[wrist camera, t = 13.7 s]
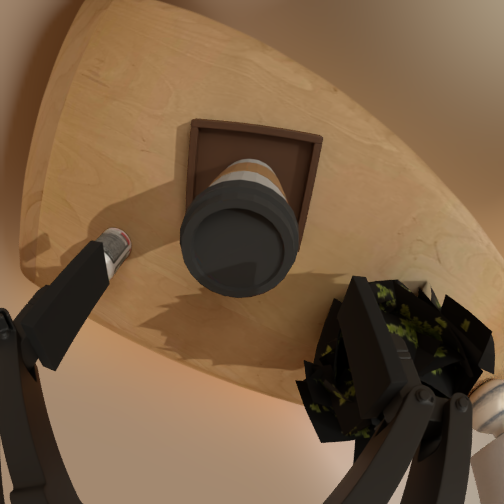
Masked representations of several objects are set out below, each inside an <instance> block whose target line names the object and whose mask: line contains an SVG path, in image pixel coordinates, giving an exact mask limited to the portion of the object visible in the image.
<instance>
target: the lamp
mask: <svg viewBox="0 0 504 504" xmlns="http://www.w3.org/2000/svg"><path fill="white" fill-rule="evenodd" d="M469 399H470V401H471V403H472V407H473V422H472V428H473V429H474V430H476V431H478V432H481V433H487V434H493V435H494V437H495V438H496V439H495V440H493V441H492V442H491V443H489V444H488V445H486V446H485V447H484V448H482V449H481V450H480V451H478V452H477V453H476V454H474V455H473V456H472V457H471V458H470V462H471V466H472V469H473V473H474V477H475V481H476V485H477V489H478V493H479V498H480V502H481V504H504V380H503V379H493V380H490V381H488V382H486V383H484V384H482V385H481V386H480V387H478V388H477V389H476V390H475V391H474V392H473V393H472V394H471V396H470V397H469Z"/></svg>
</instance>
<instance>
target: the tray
mask: <svg viewBox="0 0 504 504" xmlns="http://www.w3.org/2000/svg"><path fill="white" fill-rule="evenodd" d="M322 141H323V137H322V136H320V135H316V134H311V133H306V132H300V131H295V130H289V129H283V128H276V127H270V126H263V125H255V124H247V123H239V122H230V121H219V120H207V119H193V120H192V121H191V132H190V144H189V158H188V173H187V190H186V211H187V208H188V207H189V205H190V204H191V203H192V201H193V200H194V199H195V197H196V196H197V195H199V194H200V193H201V192H203V191H204V190H205V189H207V188H208V187H209V186H210V184H211V183H212V182H213V181H214V180H215V179H216V178H217V177H218V176H219V175H220V174H221V173H222V172H223V171H224V170H225V169H227V167H229V166H230V165H231V164H233V163H234V162H236V161H239V160H242V159H255V160H259V161H261V162H263V163H265V164H267V165H268V166H269V167H270V168H271V169H272V170H273V172H274V173H275V175H276V177H277V178H278V180H279V182H280V184H281V187H282V189H283V191H284V194H285V196H286V199H287V201H288V204H289V206H290V207H291V209H292V210H293V211H294V214H295V217H296V220H297V223H298V229H299V241H298V242H299V248H298V252H299V249H300V245H301V241H302V236H303V232H304V228H305V223H306V219H307V214H308V210H309V205H310V201H311V196H312V191H313V187H314V182H315V177H316V172H317V167H318V162H319V157H320V152H321V147H322ZM185 214H186V213H185Z"/></svg>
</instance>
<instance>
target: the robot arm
mask: <svg viewBox="0 0 504 504" xmlns="http://www.w3.org/2000/svg"><path fill="white" fill-rule="evenodd" d="M108 285H109V278H108V273H107V267H106V261H105V254H104V248H103V242H98V241H90V242H89V243H88V244H87V245H86V246H85V247H84V248H83V249H82V250H81V252H80V253H79V254H78V255H77V256H76V257H75V258H74V259H73V260H72V261H71V262H70V263H69V264H68V265H67V267H66V268H65V269H64V270H63V271H62V272H61V273H60V274H59V275H58V277H57V278H56V279H55V280H54V281H53V282H52V283H51V285H45V286H44V287H42V288H41V289H40V290H38V291H37V292H36V293H35V295H34V296H33V298H31V300H30V301H29V302H28V304H26V305H25V307H24V308H23V309H22V310H21V312H20V313H19V314H18V315H17V317H16V318H15V319H14V321H12V319H11V316H10V314H9V312H8V311H7V310H6V309H4V308H0V435H1V440H2V445H3V449H4V454H5V458H6V462H7V465H8V469H9V473H10V476H11V480H12V483H13V491H12V492H11V493H10V501H11V504H83V503H82V502H81V501H80V499H79V498H78V496H77V494H76V491H75V489H74V487H73V485H72V483H71V480H70V478H69V475H68V473H67V471H66V468H65V465H64V463H63V461H62V458H61V455H60V452H59V450H58V446H57V443H56V440H55V437H54V434H53V431H52V428H51V424H50V421H49V417H48V413H47V409H46V405H45V401H44V397H43V393H42V388H41V383H40V378H39V373H38V368H37V366H36V361H37V359H38V358H39V360H40V362H41V363H42V365H43V366H44V367H46V368H49V369H51V370H54V371H56V369H57V368H58V366H59V364H60V362H61V360H62V359H63V357H64V355H65V353H66V352H67V350H68V348H69V347H70V345H71V343H72V342H73V340H74V338H75V337H76V335H77V333H78V332H79V330H80V328H81V327H82V325H83V324H84V322H85V320H86V319H87V317H88V316H89V314H90V312H91V311H92V309H93V308H94V306H95V305H96V303H97V302H98V300H99V299H100V297H101V296H102V294H103V293H104V291H105V290H106V288H107V287H108ZM337 317H338V321H339V324H340V328H341V332H342V336H343V340H344V344H345V348H346V352H347V357H348V361H349V365H350V370H351V374H352V379H353V383H354V388H355V392H356V397H357V402H358V407H359V412H360V417H361V419H368V418H377V417H378V416H379V415H380V414H381V412H382V411H383V413H384V417H385V418H384V419H383V420H382V421H381V422H380V423H379V424H378V425H377V426H376V427H375V428H374V430H376V429H377V430H376V431H375V433H374V434H373V436H372V438H371V439H370V441H369V442H368V444H367V445H366V447H365V448H364V450H363V451H362V453H361V454H360V456H359V457H358V459H357V460H356V462H355V463H354V464H353V466H352V467H351V469H350V470H349V471H348V473H347V474H346V475H345V477H344V478H343V479H342V480H341V482H340V483H339V484H338V486H337V487H336V488H335V489H334V491H333V492H332V493H331V495H329V497H328V498H327V499H326V500H325V501H324V503H323V504H387V503H388V502H389V500H390V498H391V497H392V495H393V493H394V492H395V490H396V488H397V487H398V485H399V483H400V481H401V479H402V477H403V476H404V474H405V472H406V470H407V468H408V466H409V464H410V462H411V460H412V463H411V467H410V471H409V475H408V479H407V482H406V486H405V490H404V493H403V496H402V499H401V503H400V504H464V501H465V495H466V490H467V483H468V475H469V467H470V458H471V445H472V422H473V407H472V403H471V401H470V399H469V398H468V397H467V396H466V395H465V394H463V393H455V394H453V395H452V396H451V398H450V399H446V398H442V397H437V396H435V394H434V393H433V391H432V390H431V389H430V388H429V387H428V386H425V385H422V383H421V381H420V378H419V376H418V373H417V370H416V368H415V365H414V363H413V360H412V359H411V355H410V353H409V352H408V348H407V346H406V343H405V341H404V340H403V339H402V338H401V337H400V336H399V334H390V332H389V329H388V327H387V324H386V322H385V320H384V317H383V315H382V312H381V310H380V308H379V306H378V303H377V301H376V299H375V296H374V294H373V292H372V290H371V288H370V285H369V283H368V281H367V279H366V277H360V276H352V279H351V281H350V284H349V287H348V289H347V292H346V295H345V297H344V300H343V302H342V305H341V307H340V310H339V312H338V315H337ZM412 458H413V459H412ZM0 504H5V502H4V495H3V486H2V476H1V462H0Z"/></svg>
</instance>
